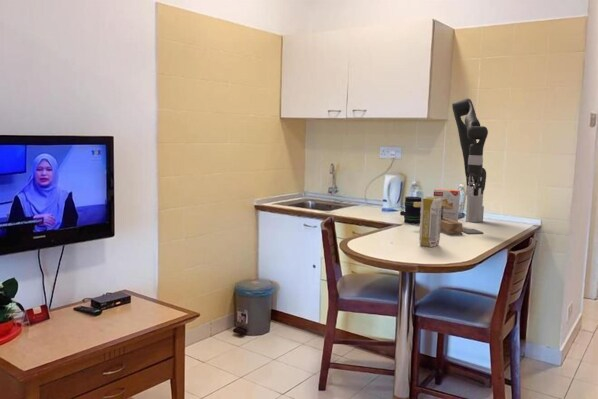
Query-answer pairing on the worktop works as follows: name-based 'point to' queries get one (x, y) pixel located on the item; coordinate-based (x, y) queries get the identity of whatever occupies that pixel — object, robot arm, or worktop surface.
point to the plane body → (450, 227)
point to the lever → (418, 204)
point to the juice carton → (430, 221)
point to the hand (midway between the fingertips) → (473, 195)
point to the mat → (471, 231)
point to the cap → (472, 191)
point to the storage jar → (412, 210)
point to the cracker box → (449, 202)
